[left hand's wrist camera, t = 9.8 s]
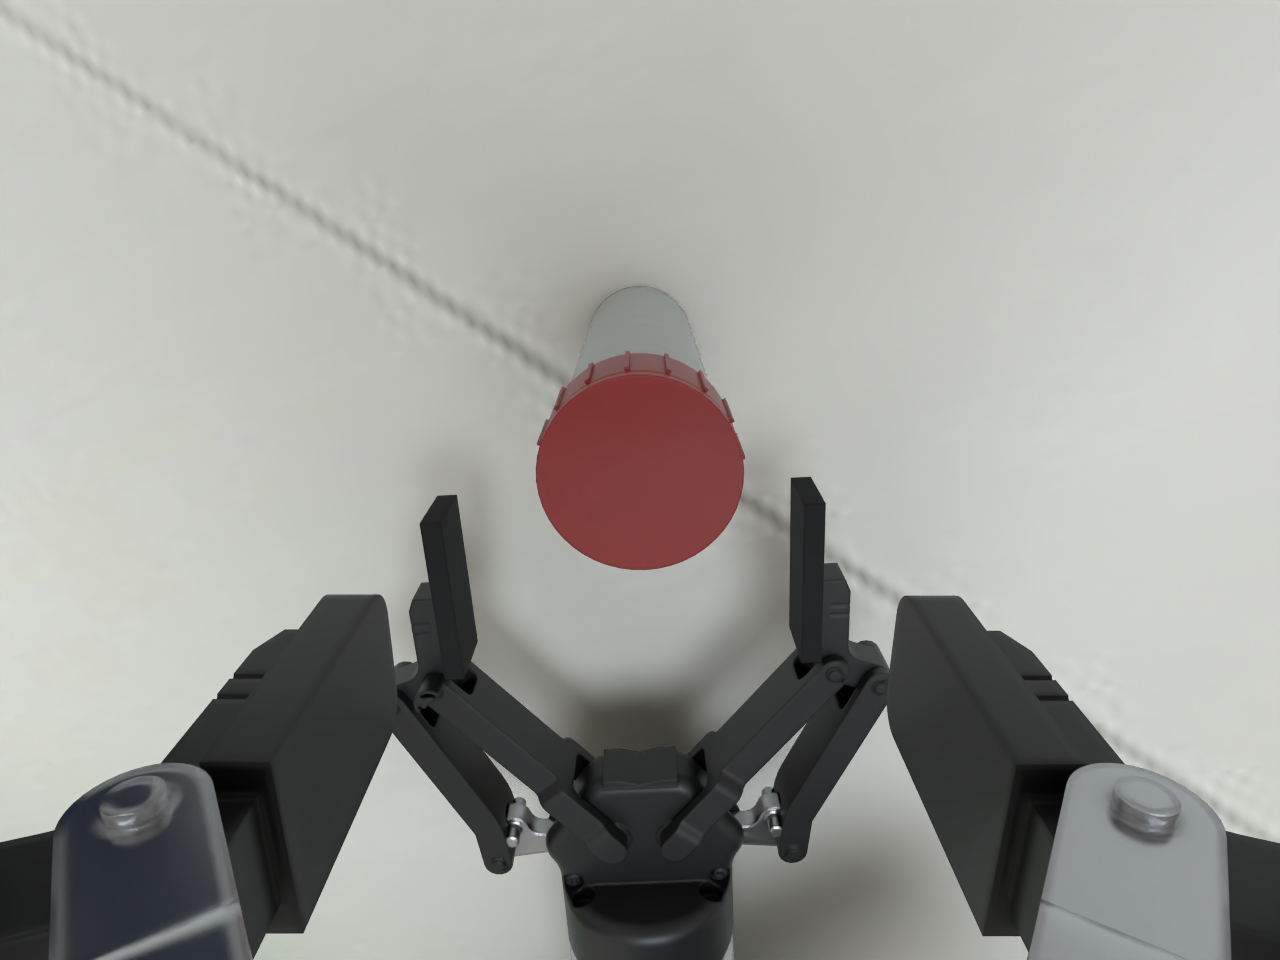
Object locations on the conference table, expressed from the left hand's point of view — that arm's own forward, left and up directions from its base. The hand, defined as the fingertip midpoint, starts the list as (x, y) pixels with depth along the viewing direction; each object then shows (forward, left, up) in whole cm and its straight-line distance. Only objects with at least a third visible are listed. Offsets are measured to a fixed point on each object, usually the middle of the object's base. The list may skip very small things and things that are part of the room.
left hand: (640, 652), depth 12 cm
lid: (0, 0, -8) cm, 8 cm away
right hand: (+5, -1, -18) cm, 19 cm away
